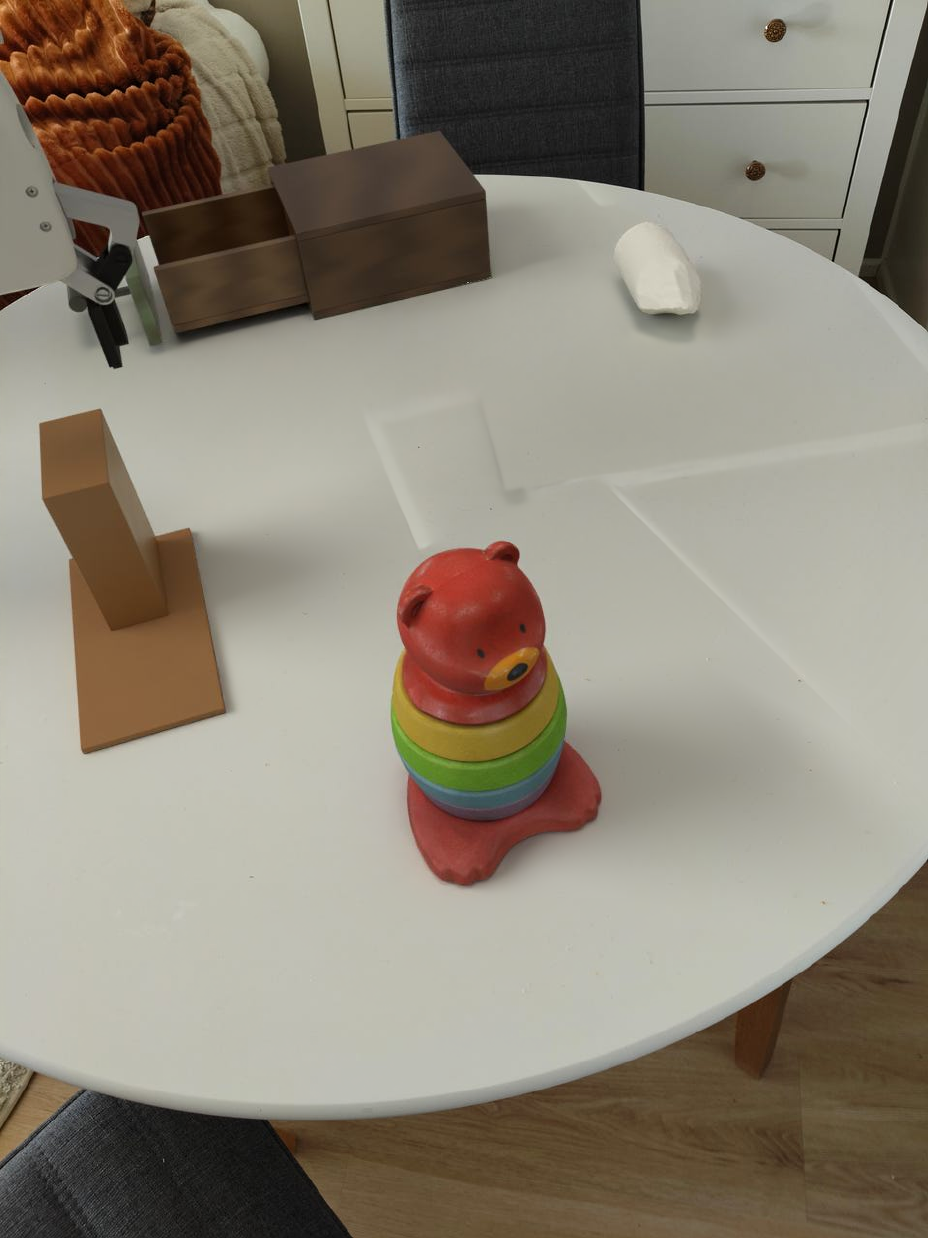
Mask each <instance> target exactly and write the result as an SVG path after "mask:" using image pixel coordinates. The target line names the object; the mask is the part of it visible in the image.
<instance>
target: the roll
mask: <svg viewBox="0 0 928 1238" xmlns="http://www.w3.org/2000/svg"><path fill="white" fill-rule="evenodd" d="M613 262H614V266H615V267H616V269H617V271H618V272H619V274H620V276H621V277H622V280H623V283H625V286H626V287H627V289H628V291H629V293H630V295H631V298H632V299H633V301H634V302H635V304H636V306H637V307H638V309H639V310H640V311H641V312H642V313H645V314H648V315H659V314H676V315H678V316H682V315H686V314H694V313H696V312H698V309H699V308H698V307H699V304H700V303H701V296H702V289H703V288H702V281H701V278H700V277H699V274H698V272H697V271H696V269H695V267H694V266H693V264H692V262H691V260H690V257H689V256H688V253H687V251H686V250H685V248H684V247H683V246H682V244H681V243H680V242H679V241H678V240H677V238H676V236H674V234H673V232H672V231H671V230H670V229H669V228H668V227H666V226H665V225H663V224H661V223H658V222H654V221H644V222H641V223H638V224H636V225H634V226H632V227H631V228H628V230H626V231H625V232H624V233H623V234H622V236H621V237H619V239H618V240H617V243H616V245H615V248H614V250H613Z"/></svg>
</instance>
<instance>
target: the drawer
mask: <svg viewBox="0 0 928 1238" xmlns="http://www.w3.org/2000/svg"><path fill="white" fill-rule="evenodd" d="M141 215H142V218H143V222H144V224H145V227H146V231H147V233H148V237H149V240H150V243H151V245H152V249H153V252H154V255H155V257H156V262H157V264H158V265H154V266H153V271H154V274H155V277H156V280H157V283H158V287H159V290H160V292H161V295H162V298H163V301H164V304H165V308H166V310H167V313H168V317H169V319H170V322H171V325H172V328H173V331H174V333H175V334H178V333H182V332H186V331H191V330H196V329H201V328H204V327H209V326H213V325H217V324H221V323H226V322H229V321H234V320H237V319H241V318H246V317H251V316H254V315H259V314H263V313H267V312H271V311H276V310H280V309H284V308H288V307H293V306H297V305H302V304H307V302H310V300H309V295H308V291H307V286H306V281H305V277H304V272H303V267H302V263H301V258H300V253H299V249H298V244H297V239H296V236H295V234H294V231H293V229H292V227H291V224H290V222H289V220H288V218H287V215H286V213H285V211H284V208H283V206H282V204H281V201H280V199H279V197H278V194H277V192H276V190H275V188H274V185H273V184H271V183H270V184H266V185H260V186H257V187H251V188H247V189H243V190H237V191H235V192H234V191H233V192H229V193H228V192H227V193H224V194H219V195H215V196H211V197H205V198H201V199H196V200H192V201H187V202H182V203H178V204H173V205H169V206H164V207H160V208H155V209H150V210H145V211H142V212H141ZM124 278H125V282H126V284H127V285H126V286H122V287H118V288H117V289H116V291H115V293H114V294H115V298H114V299H116V298H120V297H125V296H130V295H131V298H132V300H133V304H134V306H135V309H136V311H137V315H138V317H139V320H140V323H141V326H142V328H143V331H144V334H145V337H146V340H147V342H148V345H149V347H153V346H159V345H162V344H164V343H163V336H162V333H161V328H160V322H159V318H158V313H157V307H156V303H155V297H154V293H153V292H154V291H153V288H152V283H151V278H150V274H149V271H148V268H147V265H146V262H145V259H144V256H143V254H142V250H141V248H140V244H139V242H138V237H137V238H136V243H135V247H134V250H133V256H132V264H131V266H130V268H129V269H128V271H127V273H126V274H125V276H124ZM66 293H67V303H68V304H67V305H68V307H69V309H70V310H71V311H73V312H75V313H83V312H85V311H86V310H87V301H86V296H84V295H83V294H81V293H79V292H78V291H76V290H74V289H73V288H71V287H69V286H68V285H66Z"/></svg>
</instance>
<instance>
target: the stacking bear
mask: <svg viewBox="0 0 928 1238" xmlns="http://www.w3.org/2000/svg"><path fill="white" fill-rule="evenodd" d="M520 555H521V554H520V549H519V548H518V547H517V546H516V545H515V544H514V543H512V542H510V541H504V540H498V541H494V542H493V543H491V544H489V545H488V546H486V548H485V549H481V548H471V547H461V548H460V547H459V548H451V549H447V550H444V551H441V552H438V553H435V554H433V555H430V556H429V557H428V558H426V559H425V560H423V561H422V562H421V563H420V564H419V565H417V566H416V568H415V569H414V570H413V571H412V573H411V574H410V575H409V576H408V578H406V581H405V582H404V584H403V587H402V589H401V591H400V595H399V596H398V597H399V598H398V602H397V608H396V624H397V629H398V633H399V636H400V640H401V642H402V645H403V647H404V648H403V650H402V652H401V653H400V656H399V658H398V660H397V663H396V666H395V669H394V670H395V671H394V676H393V682H392V692H391V693H392V694H391V700H390V725H391V733H392V738H393V740H394V745H395V748H396V752H397V753H398V756H399V758H400V760H401V762H402V765H403V766H404V768H405V770H406V771H407V773H408V778H407V787H406V788H407V789H406V801H407V802H406V804H407V814H408V821H409V824H410V828H411V832H412V835H413V838H414V842H415V844H416V846H417V849H418V851H419V853H420V855H421V856H422V858H423V860H424V862H425V863H426V865H427V866H428V868H429V869H430V871H431V872H432V873H433V874H434V875H435V876H436V877H437V878H438V879H439V880H440V881H442V882H444V883H451V882H452V883H455V884H457V885H459V886H469V885H471V884H473V883H474V882H477V881H482V880H485V879H486V878H488V877H490V876H491V875H492V874H493V873H494V872H495V871H496V870H497V868H498V867H499V864H500V863H501V861H502V860H503V858H504V857H505V855H506V854H507V853H508V852H509V851H510V850H511V849H512V848H513V847H514V846H515V845H516V844H518V843H519V842H521V841H523V840H524V839H527V838H529V837H531V836H533V835H536V834H540V833H543V832H570V831H571V832H573V831H576V830H579V829H581V828H582V827H583V826H584V825H585V824H586V823H587V822H591V821H593V820H595V819H596V817H598V813H599V806H600V804H601V802H602V797H603V796H602V788H601V785H600V782H599V780H598V778H597V777H596V775H595V774H594V771H593V770H592V769H591V767H590V766H589V764H588V763H587V762H586V760H585V759H584V758H583V757H582V755H581V754H580V753H579V752H578V751H577V750H576V749H575V748H574V747H573V746H571V744H569V743H568V742H567V741H566V740H565V739H566V731H567V721H568V720H567V719H568V708H567V706H568V705H567V700H566V696H565V692H564V687H563V684H562V681H561V679H560V676H559V674H558V672H557V670H556V668H555V665H554V661H553V659H552V657H551V655H550V653H549V651H548V649H547V647H546V646H545V641H546V640H545V639H546V633H547V632H546V631H547V626H546V625H547V624H546V618H545V613H544V608H543V605H542V602H541V598H540V595H539V594H538V592H537V590H536V588H535V587H534V585H533V584H532V582H531V581H530V579H529V578H528V577H527V575H526V574H525V572H523V570H522V569H521V568H520V567H519V565H518V563H519V561H520Z"/></svg>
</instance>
